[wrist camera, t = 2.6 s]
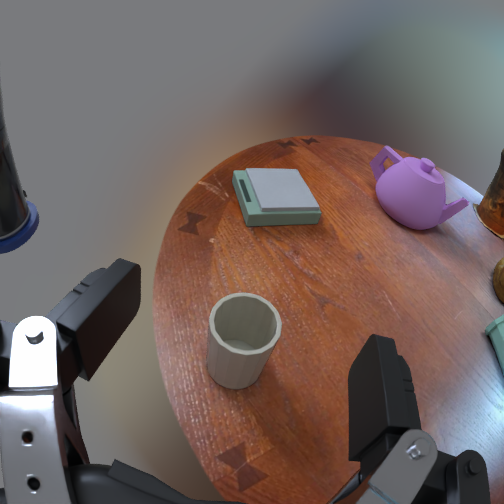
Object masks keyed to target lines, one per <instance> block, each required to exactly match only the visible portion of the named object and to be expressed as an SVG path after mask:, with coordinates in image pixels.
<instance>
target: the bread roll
mask: <svg viewBox="0 0 504 504" xmlns="http://www.w3.org/2000/svg"><path fill="white" fill-rule="evenodd" d="M493 286H494V290H495V292H496V294H497V296H498V298H499V299H500V300H501V301H502V302H503V303H504V258H502V259H501V260H500V261H499V262H498V263H497V265H496V267H495V269H494V274H493Z"/></svg>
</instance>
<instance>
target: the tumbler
mask: <svg viewBox="0 0 504 504" xmlns="http://www.w3.org/2000/svg"><path fill="white" fill-rule="evenodd" d="M281 327H282V322H281V319H280V316H279V313H278V311H277V310H276V309H275V308H274V306H273V305H272V304H271V303H270V302H269V301H267V300H265V299H264V298H262V297H260V296H258V295H255V294H250V293H245V292H244V293H234V294H230V295H228V296H226V297H224V298H222V299H220V300H219V301H218V302H217V304H216V305H215V306H214V307H213V308H212V311H211V314H210V318H209V326H208V340H207V355H206V362H207V369H208V372H209V374H210V376H211V377H212V378H213V380H214V381H215V382H217V383H218V384H219V385H221V386H223V387H226V388H229V389H242V388H246V387H248V386H250V385H252V384H253V383H254V382H255V381H256V380H257V379H258V378H259V376H260V375H261V373H262V371H263V369H264V367H265V366H266V364H267V362H268V360H269V358H270V356H271V354H272V352H273V350H274V348H275V346H276V344H277V342H278V339H279V337H280V335H281Z"/></svg>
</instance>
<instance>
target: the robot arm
mask: <svg viewBox="0 0 504 504" xmlns="http://www.w3.org/2000/svg"><path fill="white" fill-rule="evenodd" d="M25 197H27V195H26V192H25V191H24V190H22V186H21V183H20V180H19V176H18V173H17V170H16V166H15V162H14V158H13V155H12V151H11V147H10V143H9V138H8V134H7V129H6V125H5V120H4V114H3V98H2V90H1V79H0V241H4V240H7V239H9V238H11V237H13V236H15V235H16V234H18V233H19V232H20V231H21V230H22V229H23V228H24V227H25V226H26V225H27V223H28V221H29V219H30V215H31V213H30V209H29V206H28V204H27V202H26V199H25ZM140 300H141V268H140V265H138V264H135V263H132V262H130V261H126V260H124V259H121V258H119V259H117V260H116V261H115V262H114V263H113V264H112V265H111V266H110V267H109V268H107V269H105V268H100V269H98V270H96V271H94V272H91V273H90V274H88V275H87V276H86V277H85V278H84V279H83V280H82V281H81V283H80V284H78V285H77V286H76V287H75V288H74V289H73V291H71V292H70V293H68V294H67V295H66V296H65V298H63V299H62V300H61V301H60V303H58V304H57V305H56V306H55V307H54V308H53V309H52V310H51V311H50V312H49V313H48V314H47V315H46V316H45V317H39V316H35V317H29V318H27V319H25V320H23V321H21V322H20V323H19V324H15V323H10V322H6V321H2V320H0V451H1V463H2V472H3V481H4V488H0V504H246V503H242V502H229V501H205V500H193V499H190V498H188V497H186V496H184V495H183V494H181V493H180V492H178V491H176V490H175V489H173V488H171V487H170V486H168V485H167V484H165V483H163V482H162V481H160V480H159V479H157V478H156V477H154V476H153V475H150V474H148V473H145V472H143V471H140V470H138V469H136V468H133V467H131V466H129V465H126V464H124V463H122V462H120V461H118V460H116V459H115V460H114V462H113V464H112V466H109V465H102V464H90V462H89V458H88V454H87V451H86V448H85V445H84V442H83V439H82V435H81V431H80V426H79V420H78V413H77V406H76V399H75V390H74V385H73V383H74V381H75V380H76V378H77V377H78V376H79V377H81V378H83V379H85V380H87V381H89V380H90V379H91V377H92V376H93V375H94V373H95V372H96V370H97V369H98V367H99V366H100V365H101V363H102V362H103V360H104V359H105V358H106V356H107V355H108V353H109V352H110V350H111V349H112V348H113V346H114V345H115V343H116V342H117V340H118V339H119V338H120V337H121V335H122V334H123V332H124V331H125V330H126V328H127V327H128V325H129V324H130V323H131V321H132V320H133V319H134V317H135V316H136V314H137V312H138V309H139V306H140ZM348 396H349V461H358V462H360V469H359V470H358V471H357V472H356V473H355V474H354V475H353V476H352V477H351V478H350V479H349V480H348V481H347V483H346V484H345V485H344V486H343V487H342V488H341V489H340V490H339V491H338V492H337V493H336V494H335V495H334V496H333V497H332V498H331V499H330V500H329V501H328V502H327V503H326V504H491V502H490V492H489V483H488V475H487V468H486V463H485V461H484V459H483V457H482V456H481V455H480V454H479V453H478V452H476V451H474V450H466V451H464V452H462V453H461V454H459V455H458V456H457V457H455V456H452V455H449V454H446V453H444V452H441V451H438V450H437V446H436V443H435V441H434V440H433V438H432V437H431V436H430V435H429V434H428V433H426V432H425V431H423V430H422V429H421V423H420V417H419V412H418V406H417V401H416V396H415V393H414V386H413V383H412V377H411V372H410V368H409V366H408V365H407V363H406V361H405V360H404V358H403V357H402V356H400V355H398V354H397V350H396V345H395V341H394V340H393V339H392V338H388V337H384V336H379V335H375V334H372V335H371V336H370V337H369V338H368V340H367V342H366V343H365V345H364V346H363V348H362V350H361V351H360V353H359V354H358V356H357V357H356V359H355V360H354V362H353V364H352V366H351V368H350V371H349V375H348Z"/></svg>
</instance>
